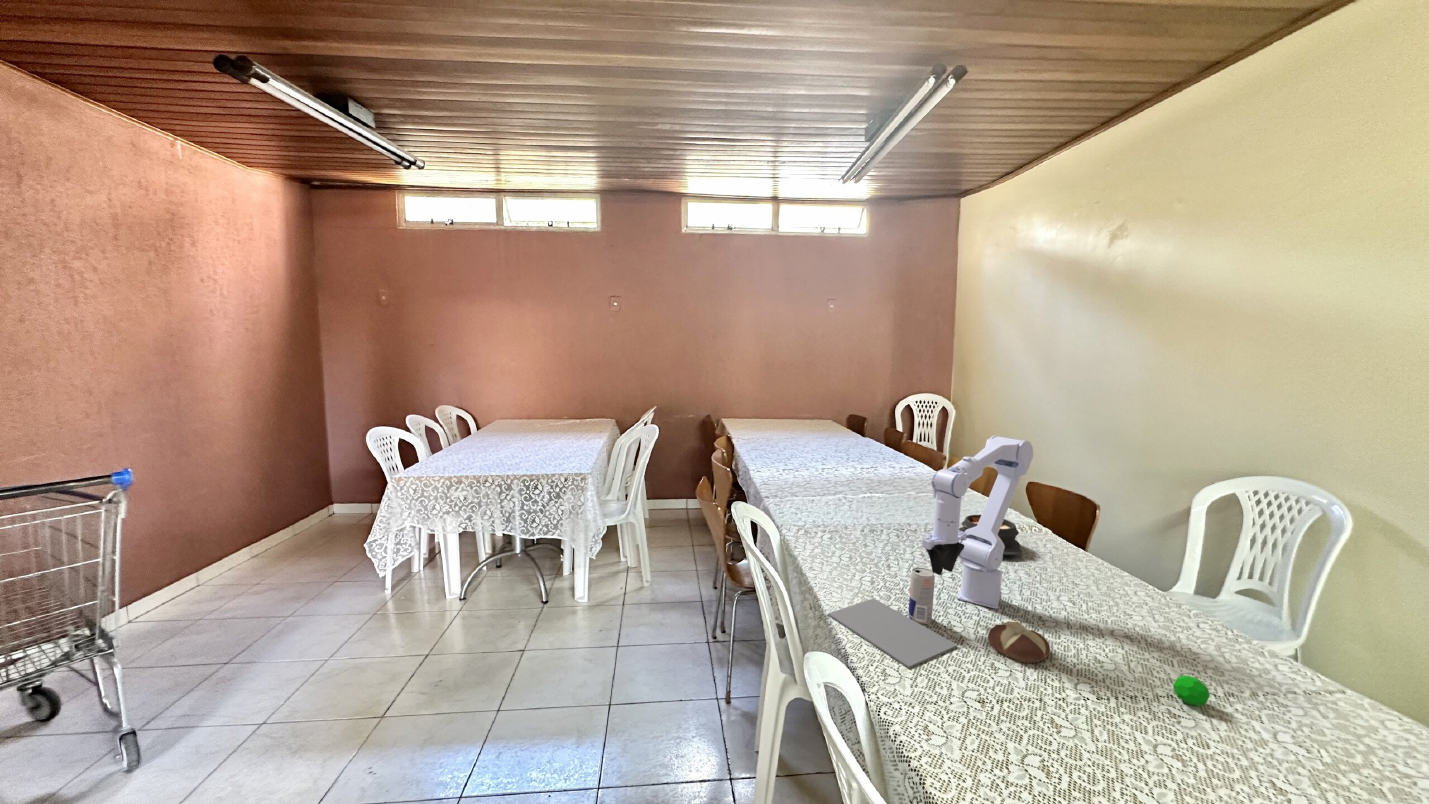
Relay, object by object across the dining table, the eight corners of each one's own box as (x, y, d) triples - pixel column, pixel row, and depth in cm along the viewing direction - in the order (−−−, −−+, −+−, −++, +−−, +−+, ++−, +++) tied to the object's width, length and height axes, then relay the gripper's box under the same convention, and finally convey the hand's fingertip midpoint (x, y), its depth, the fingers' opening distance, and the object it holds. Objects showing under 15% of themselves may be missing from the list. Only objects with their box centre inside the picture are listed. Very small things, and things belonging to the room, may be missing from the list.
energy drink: (914, 610, 130) (917, 565, 128) (935, 619, 126) (938, 572, 125) (904, 618, 126) (907, 571, 125) (926, 627, 122) (929, 578, 121)
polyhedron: (1214, 708, 96) (1217, 684, 96) (1196, 713, 95) (1199, 689, 94) (1183, 691, 101) (1186, 668, 100) (1165, 695, 99) (1168, 672, 99)
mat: (873, 600, 135) (873, 598, 135) (957, 647, 114) (957, 645, 114) (827, 615, 127) (827, 613, 127) (908, 668, 106) (908, 666, 106)
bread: (978, 642, 117) (980, 621, 116) (1013, 632, 121) (1015, 612, 121) (1025, 671, 106) (1027, 648, 106) (1061, 659, 111) (1063, 637, 110)
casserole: (945, 531, 187) (947, 508, 186) (998, 533, 186) (1000, 510, 185) (976, 559, 162) (978, 533, 162) (1037, 562, 162) (1039, 536, 161)
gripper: (950, 510, 134) (946, 560, 136) (913, 517, 127) (909, 571, 128) (976, 518, 128) (971, 571, 130) (938, 526, 121) (934, 582, 122)
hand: (942, 571), depth 129 cm, fingers open, 4 cm apart
